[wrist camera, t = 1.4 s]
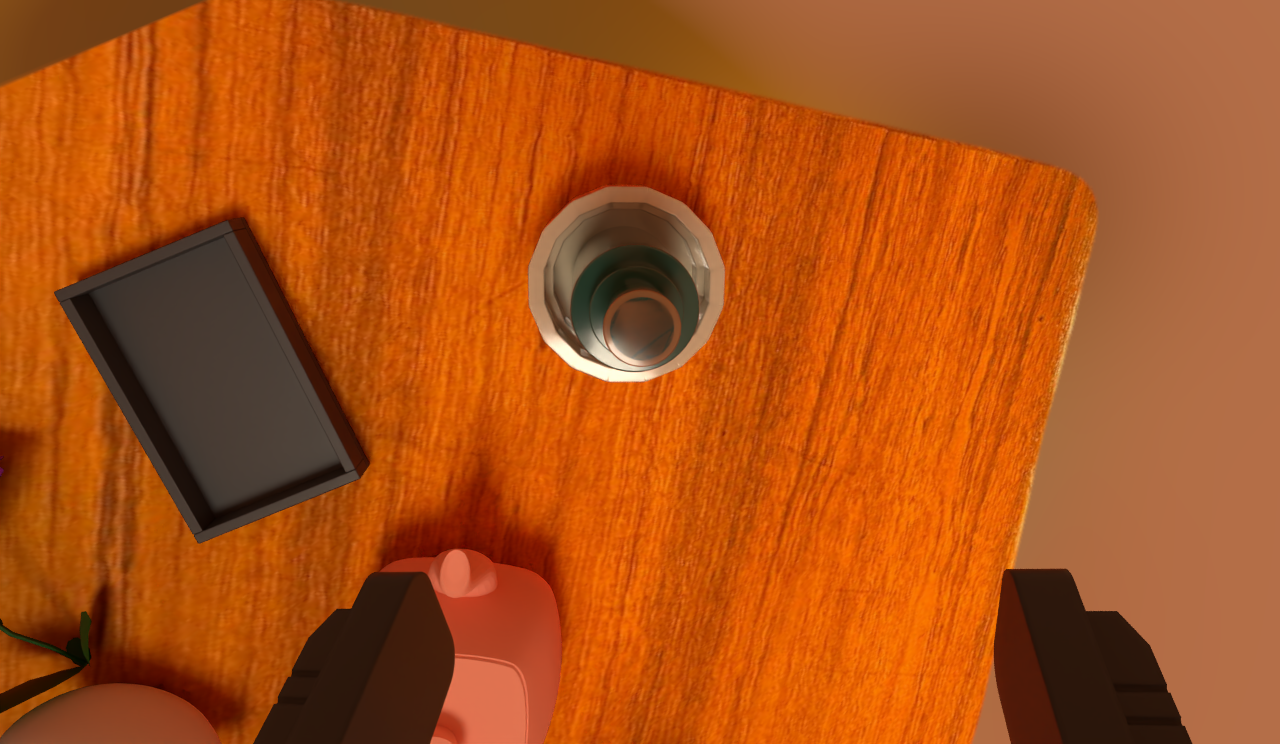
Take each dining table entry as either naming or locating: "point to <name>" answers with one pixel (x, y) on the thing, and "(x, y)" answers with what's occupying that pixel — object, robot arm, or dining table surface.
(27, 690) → the flower
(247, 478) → the tray
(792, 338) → the dining table surface
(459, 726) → the teapot
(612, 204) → the bowl
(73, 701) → the flower in vase
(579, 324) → the bottle
